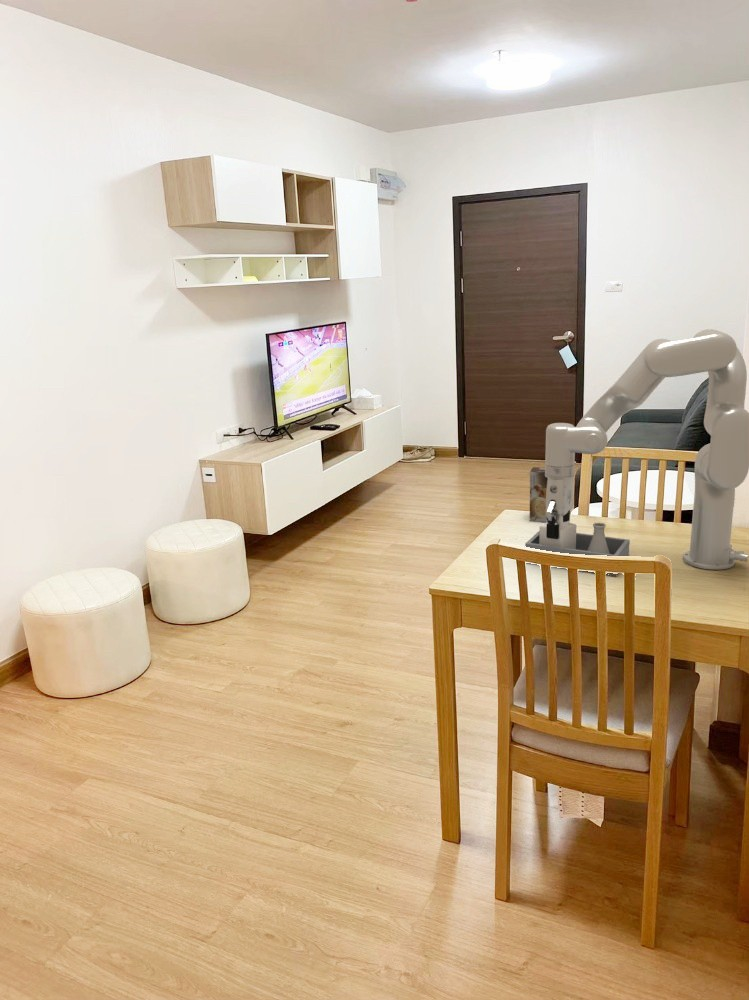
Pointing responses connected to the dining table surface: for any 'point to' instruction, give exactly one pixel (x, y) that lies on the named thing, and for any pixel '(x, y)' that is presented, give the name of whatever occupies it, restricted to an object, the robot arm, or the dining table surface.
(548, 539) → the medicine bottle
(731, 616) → the dining table surface
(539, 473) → the coffee box
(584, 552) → the box
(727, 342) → the robot arm
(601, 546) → the flask
